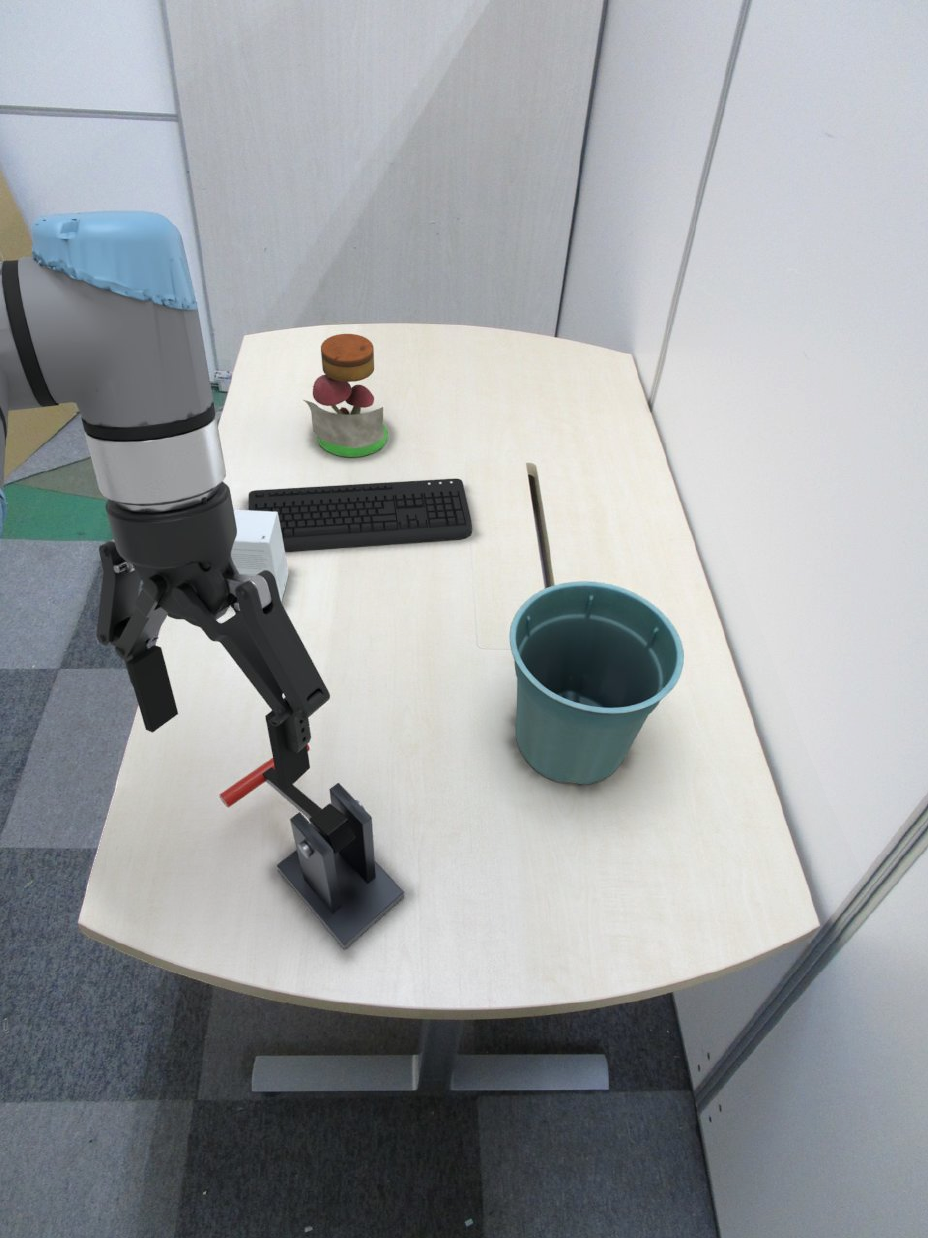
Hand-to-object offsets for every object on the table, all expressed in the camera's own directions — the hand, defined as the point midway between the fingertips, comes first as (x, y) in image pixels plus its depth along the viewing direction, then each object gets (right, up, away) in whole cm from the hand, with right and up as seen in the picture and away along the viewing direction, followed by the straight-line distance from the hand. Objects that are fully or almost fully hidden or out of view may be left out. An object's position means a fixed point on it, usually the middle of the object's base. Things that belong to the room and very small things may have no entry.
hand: (225, 748), depth 60 cm
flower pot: (+30, -3, +25) cm, 39 cm away
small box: (-8, +14, +38) cm, 41 cm away
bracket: (+7, -15, +13) cm, 21 cm away
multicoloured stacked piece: (+1, +38, +60) cm, 71 cm away
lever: (+4, -7, +9) cm, 12 cm away
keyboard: (+4, +24, +47) cm, 53 cm away
